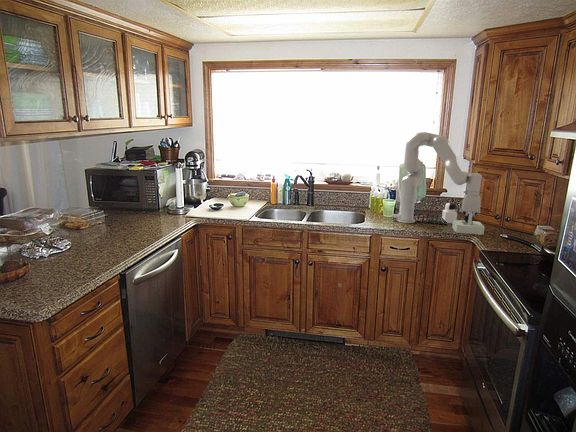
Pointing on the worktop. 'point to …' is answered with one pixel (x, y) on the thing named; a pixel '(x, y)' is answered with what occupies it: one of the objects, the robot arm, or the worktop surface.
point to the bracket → (469, 219)
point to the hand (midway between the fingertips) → (468, 221)
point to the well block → (468, 227)
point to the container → (449, 213)
